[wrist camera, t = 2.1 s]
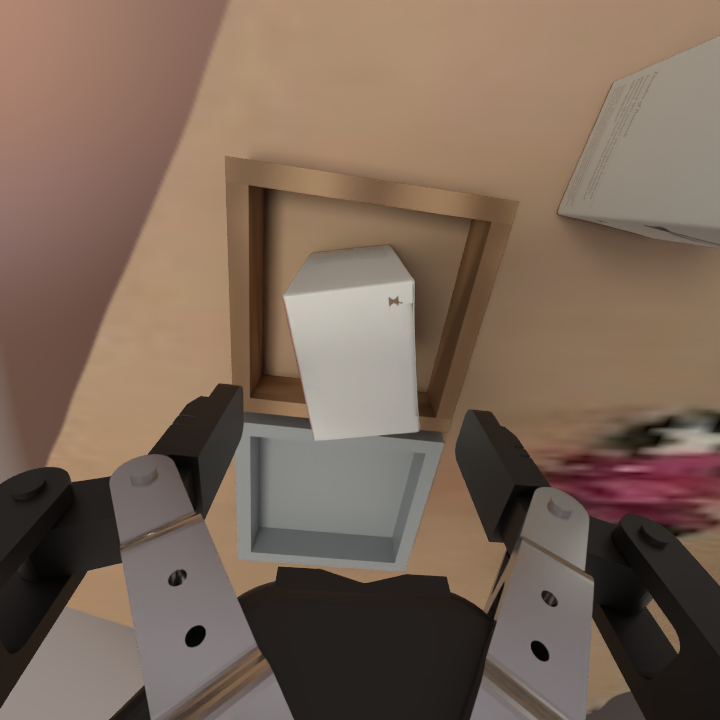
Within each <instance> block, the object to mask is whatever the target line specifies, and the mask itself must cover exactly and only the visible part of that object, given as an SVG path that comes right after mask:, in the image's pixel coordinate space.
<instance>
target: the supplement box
mask: <svg viewBox="0 0 720 720" xmlns="http://www.w3.org/2000/svg"><path fill="white" fill-rule="evenodd" d="M558 214H559V215H562V216H567V217H572V218H577V219H581V220H586V221H590V222H594V223H598V224H602V225H606V226H610V227H613V228H617V229H621V230H625V231H629V232H633V233H636V234H640V235H643V236H646V237H649V238H653V239H660V240H667V241H673V242H680V243H686V244H693V245H699V246H706V247H713V248H719V249H720V36H718V37H715V38H713V39H711V40H709V41H706V42H704V43H702V44H700V45H697V46H695V47H693V48H690V49H688V50H686V51H683V52H681V53H679V54H677V55H674V56H672V57H670V58H667V59H665V60H663V61H660V62H658V63H656V64H654V65H651V66H649V67H646V68H644V69H642V70H639V71H637V72H635V73H633V74H631V75H628V76H626V77H624V78H621V79H619V80H616V81H615V82H614V83H613V85H612V87H611V89H610V91H609V93H608V96H607V98H606V100H605V103H604V105H603V107H602V109H601V112H600V114H599V116H598V118H597V121H596V123H595V125H594V128H593V130H592V132H591V134H590V136H589V139H588V141H587V144H586V146H585V148H584V150H583V153H582V155H581V157H580V159H579V162H578V164H577V166H576V169H575V171H574V173H573V176H572V178H571V180H570V182H569V185H568V187H567V190H566V192H565V194H564V196H563V199H562V201H561V204H560V206H559V209H558Z"/></svg>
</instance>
